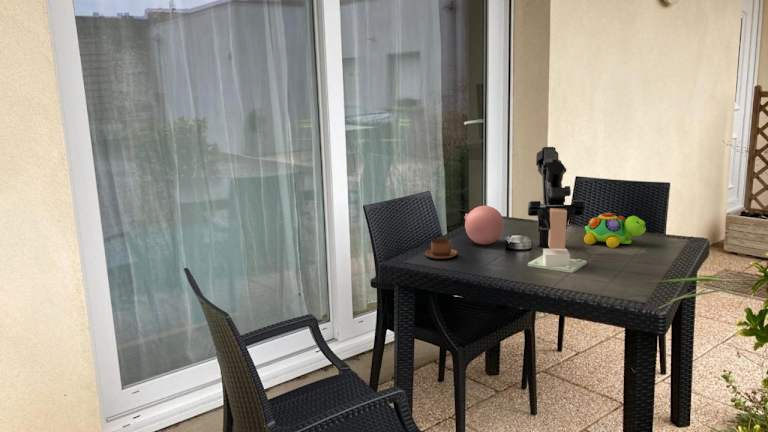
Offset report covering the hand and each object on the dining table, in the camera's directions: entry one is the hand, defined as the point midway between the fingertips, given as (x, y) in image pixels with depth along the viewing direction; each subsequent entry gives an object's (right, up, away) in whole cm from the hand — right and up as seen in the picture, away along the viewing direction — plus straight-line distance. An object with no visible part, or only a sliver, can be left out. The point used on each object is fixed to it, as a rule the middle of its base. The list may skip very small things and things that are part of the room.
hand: (557, 228), depth 215 cm
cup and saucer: (-38, -11, +21) cm, 45 cm away
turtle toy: (+31, -7, +32) cm, 44 cm away
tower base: (+1, -13, +5) cm, 14 cm away
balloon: (-20, -7, +39) cm, 45 cm away
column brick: (0, -6, +3) cm, 7 cm away
